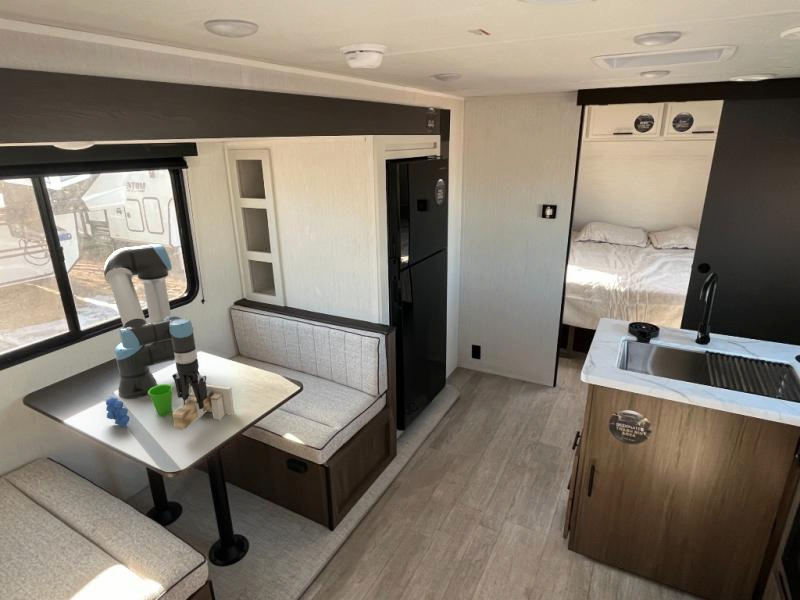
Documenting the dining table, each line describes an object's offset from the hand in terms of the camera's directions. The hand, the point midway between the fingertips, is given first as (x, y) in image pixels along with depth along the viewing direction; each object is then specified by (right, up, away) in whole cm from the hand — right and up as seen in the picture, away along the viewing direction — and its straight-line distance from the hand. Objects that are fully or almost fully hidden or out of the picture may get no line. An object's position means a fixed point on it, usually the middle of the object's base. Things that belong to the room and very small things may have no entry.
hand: (195, 414), depth 179 cm
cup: (-17, -2, +10) cm, 20 cm away
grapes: (-31, -5, +2) cm, 32 cm away
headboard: (+2, -2, +10) cm, 10 cm away
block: (0, 0, 0) cm, 0 cm away
